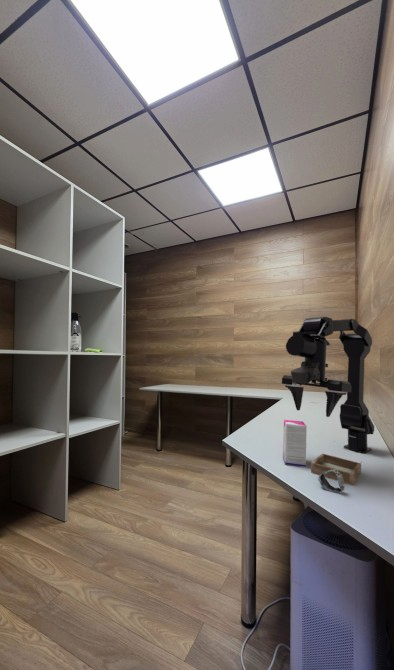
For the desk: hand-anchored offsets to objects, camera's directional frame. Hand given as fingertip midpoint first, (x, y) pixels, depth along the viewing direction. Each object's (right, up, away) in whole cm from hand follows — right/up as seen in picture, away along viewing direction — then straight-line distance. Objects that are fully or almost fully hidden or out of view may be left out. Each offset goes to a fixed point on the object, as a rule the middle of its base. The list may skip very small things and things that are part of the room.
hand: (312, 413), depth 77 cm
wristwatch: (-2, -14, -14) cm, 20 cm away
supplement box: (-5, -15, +1) cm, 16 cm away
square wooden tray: (+4, -15, -5) cm, 16 cm away
